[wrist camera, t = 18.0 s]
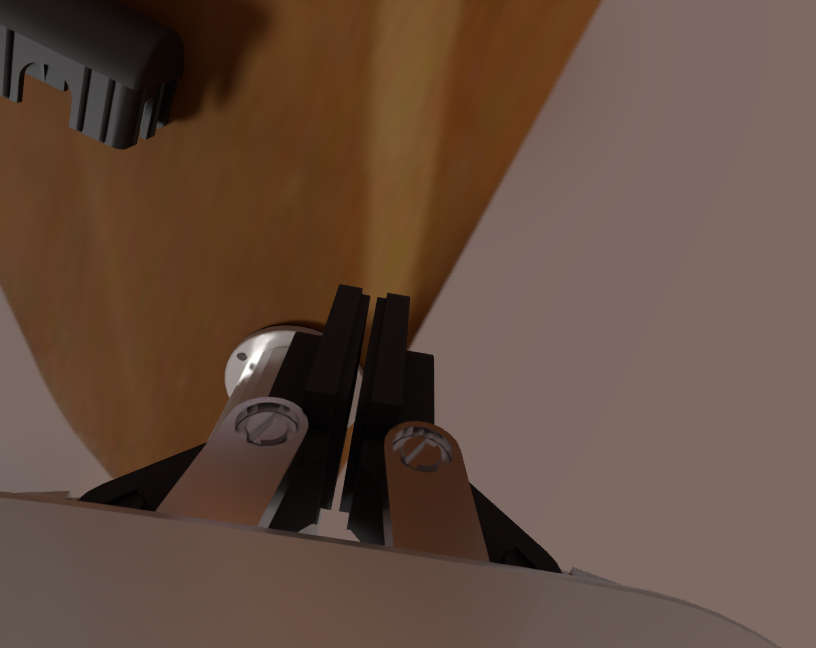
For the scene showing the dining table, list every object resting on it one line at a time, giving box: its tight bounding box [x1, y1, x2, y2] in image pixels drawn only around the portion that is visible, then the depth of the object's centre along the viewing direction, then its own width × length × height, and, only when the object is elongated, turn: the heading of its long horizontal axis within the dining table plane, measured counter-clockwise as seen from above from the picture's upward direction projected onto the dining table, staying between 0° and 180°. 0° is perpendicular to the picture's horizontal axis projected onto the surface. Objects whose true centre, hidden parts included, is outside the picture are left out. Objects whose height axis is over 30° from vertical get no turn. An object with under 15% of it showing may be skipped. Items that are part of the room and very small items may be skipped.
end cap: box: [0, 0, 184, 149], centre depth 31 cm, size 10×7×7 cm
